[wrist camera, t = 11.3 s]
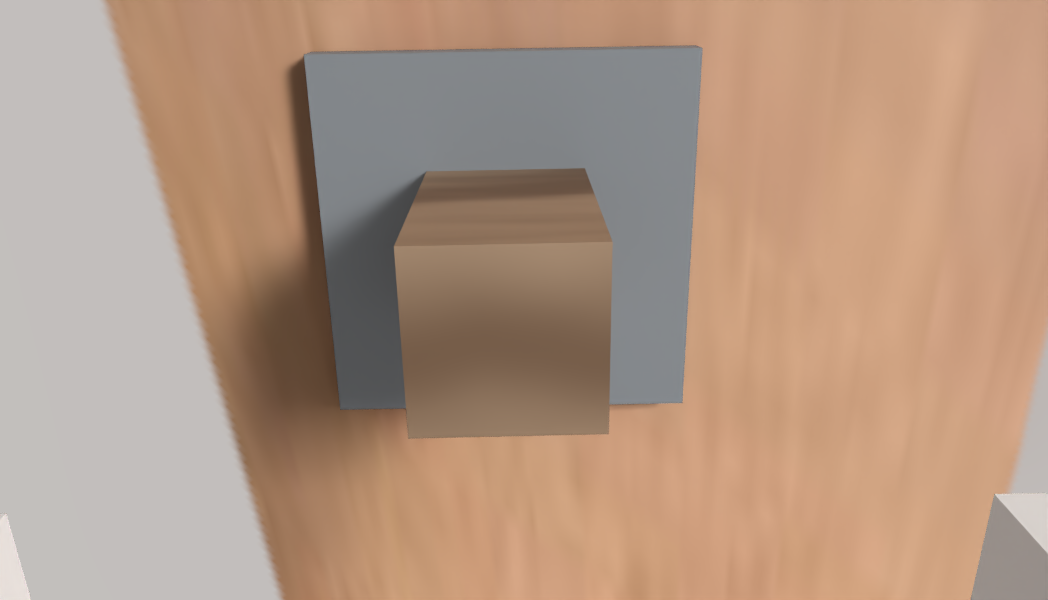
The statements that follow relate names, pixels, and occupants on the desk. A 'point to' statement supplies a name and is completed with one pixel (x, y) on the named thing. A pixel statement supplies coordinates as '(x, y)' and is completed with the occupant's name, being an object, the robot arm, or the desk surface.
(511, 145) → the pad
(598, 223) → the block
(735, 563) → the desk surface
